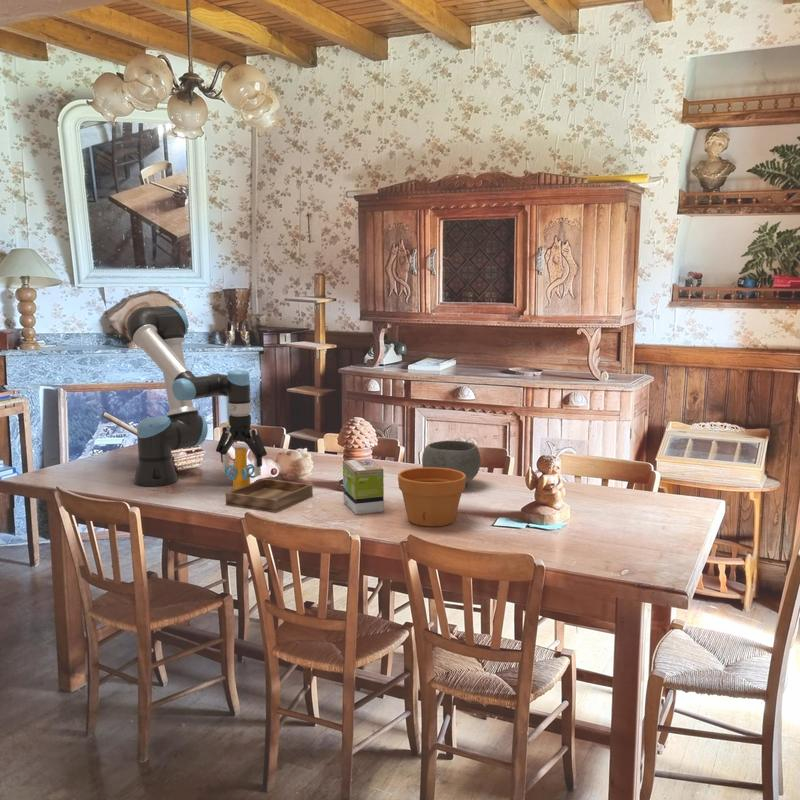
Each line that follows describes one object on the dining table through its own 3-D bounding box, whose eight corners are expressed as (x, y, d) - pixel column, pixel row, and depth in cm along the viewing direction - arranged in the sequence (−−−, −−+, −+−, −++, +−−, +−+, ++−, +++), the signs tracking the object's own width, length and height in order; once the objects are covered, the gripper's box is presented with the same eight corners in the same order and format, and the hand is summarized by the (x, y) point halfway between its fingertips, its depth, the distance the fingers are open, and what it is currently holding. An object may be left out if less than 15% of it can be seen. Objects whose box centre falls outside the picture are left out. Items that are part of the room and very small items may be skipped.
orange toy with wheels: (262, 486, 301) (261, 445, 299) (254, 494, 291) (253, 451, 289) (229, 485, 303) (228, 444, 300) (220, 493, 292) (219, 451, 290)
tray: (226, 504, 278) (225, 492, 277) (264, 489, 297) (264, 478, 297) (276, 512, 269) (275, 500, 269) (312, 496, 289) (312, 484, 288)
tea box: (342, 502, 281) (341, 459, 279) (370, 500, 284) (370, 457, 282) (354, 515, 267) (354, 469, 265) (384, 512, 270) (384, 467, 268)
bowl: (453, 475, 318) (454, 437, 316) (492, 486, 302) (493, 446, 299) (410, 484, 305) (410, 443, 303) (447, 496, 289) (448, 453, 287)
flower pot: (403, 509, 274) (404, 464, 271) (468, 512, 270) (468, 467, 268) (392, 528, 253) (392, 480, 251) (461, 532, 249) (462, 484, 247)
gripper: (204, 413, 295) (206, 472, 298) (262, 418, 284) (264, 479, 287) (218, 410, 302) (220, 468, 305) (275, 415, 291) (277, 475, 294)
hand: (241, 473), depth 296 cm, fingers open, 13 cm apart
